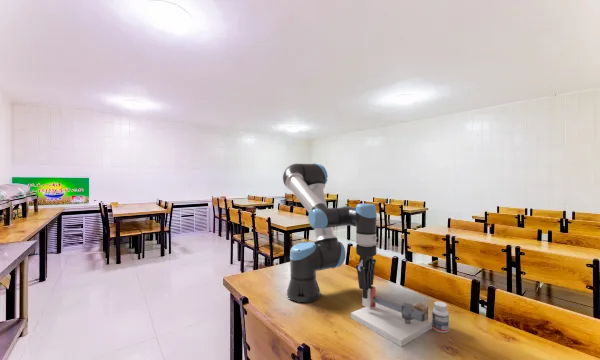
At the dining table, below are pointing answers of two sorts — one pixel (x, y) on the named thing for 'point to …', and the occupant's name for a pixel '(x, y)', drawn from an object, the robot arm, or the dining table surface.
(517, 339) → the dining table surface
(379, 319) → the base
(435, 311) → the pill bottle
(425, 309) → the walnut block
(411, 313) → the lever
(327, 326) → the dining table surface
